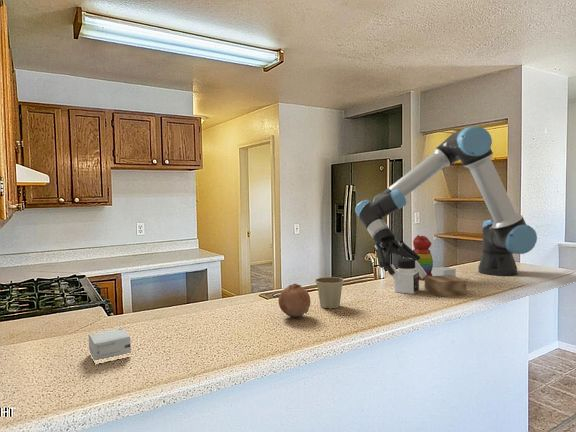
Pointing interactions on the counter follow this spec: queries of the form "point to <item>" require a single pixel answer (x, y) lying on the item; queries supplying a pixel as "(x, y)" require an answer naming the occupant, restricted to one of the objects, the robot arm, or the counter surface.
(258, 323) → the counter surface
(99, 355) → the small box
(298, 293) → the onion
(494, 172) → the robot arm
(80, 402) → the counter surface
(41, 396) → the counter surface
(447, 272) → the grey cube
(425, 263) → the stacking bear
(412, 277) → the medicine bottle
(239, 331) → the counter surface
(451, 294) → the walnut block
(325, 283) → the flower pot
